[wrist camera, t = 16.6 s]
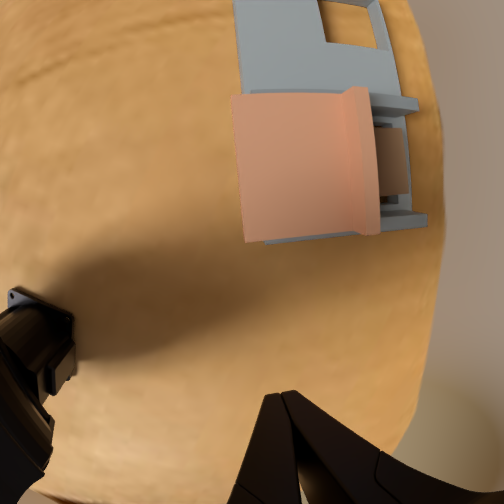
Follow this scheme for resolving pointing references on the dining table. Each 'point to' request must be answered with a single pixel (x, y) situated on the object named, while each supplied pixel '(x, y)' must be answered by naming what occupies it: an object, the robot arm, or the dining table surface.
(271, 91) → the puzzle board
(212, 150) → the dining table surface
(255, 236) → the cover
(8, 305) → the robot arm
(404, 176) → the walnut cube
